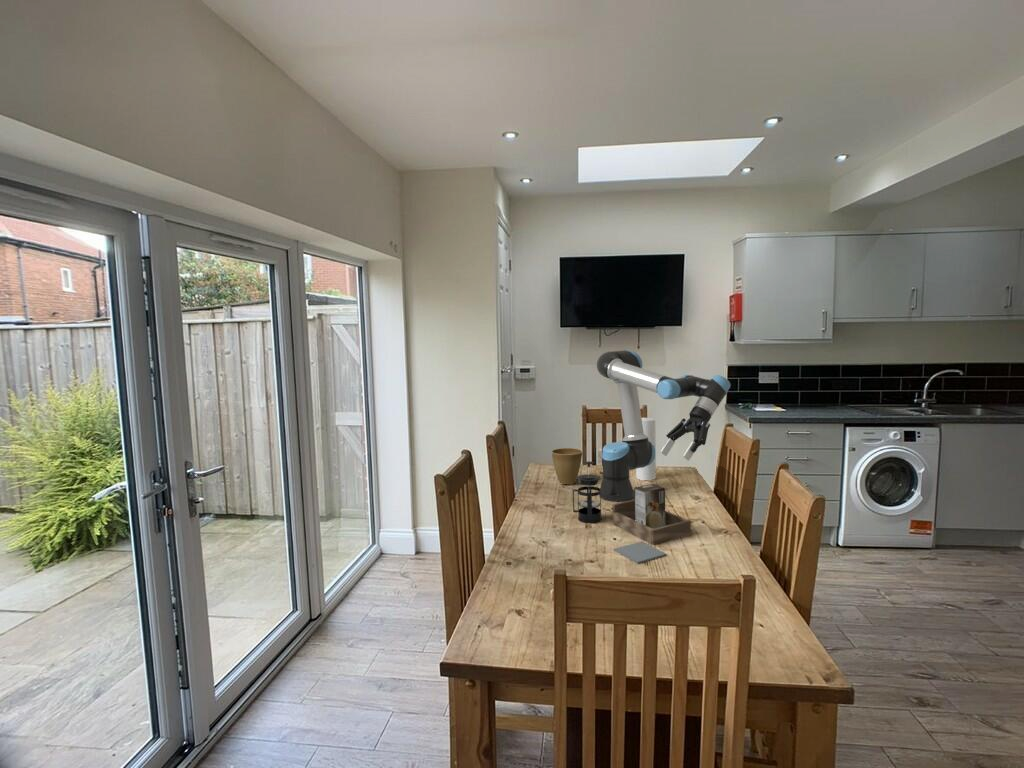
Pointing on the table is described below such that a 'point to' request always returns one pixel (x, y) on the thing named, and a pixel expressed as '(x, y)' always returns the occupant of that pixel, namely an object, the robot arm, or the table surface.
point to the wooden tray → (626, 521)
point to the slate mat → (640, 552)
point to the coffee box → (650, 505)
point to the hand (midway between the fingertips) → (674, 456)
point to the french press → (588, 498)
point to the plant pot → (567, 464)
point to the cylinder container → (650, 470)
